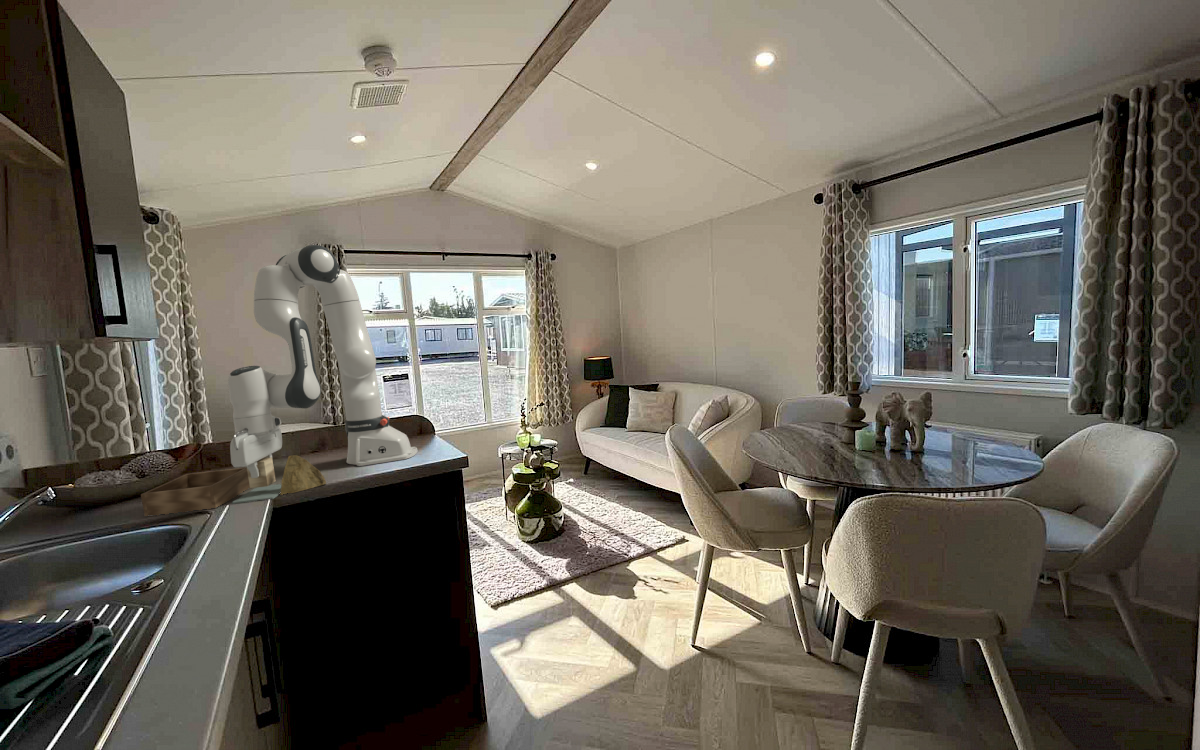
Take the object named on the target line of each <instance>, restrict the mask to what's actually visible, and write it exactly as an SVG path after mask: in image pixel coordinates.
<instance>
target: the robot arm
mask: <svg viewBox="0 0 1200 750" xmlns="http://www.w3.org/2000/svg"><path fill="white" fill-rule="evenodd" d="M310 286H312V287H314V289H316V290H317V292H318V294H319V297H320V300H321V306H322V308H323V309H322V310H323V313H324V316H325V319H326V323H327V327H328V330H329V334H330V339H331V342H332V345H333V349H334V354H335V357H336V360H337V364H338V368H339V369H338V370H339V375H340V382H341V390H342V391H341V392H342V398H343V405H344V413H345V421H344V424H345V425H344V427H345V433H346V437H347V455H346V457H347V458H346V463H347V464H349V465H356V466H357V467H363V466H368V465H369V466H370V465H375V464H376V465H377V464H382V463H387V462H388V463H389V462H394V461H396V462H397V461H402V460H406V459H410V458H412V457H414V456H415V455H416V454H417V453H418V451H419V450H418V448H417V446H411V443H410V439H409V437H408V435H407V434H405V433H404V432H402V431H400V430H399V429H396V428H394V427H393V426H392V425H390V416H385V415H383V411H382V406H381V397H380V396H381V395H380V389H379V384H378V378H377V372H376V365H377V358H376V355H375V351H374V348H373V344H372V341H371V337H370V334H369V331H368V328H367V323H366V320H365V316H364V313H363V309H362V306H361V301H360V298H359V294H358V292H357V289H356V286H355V284H354V282H353V280H352V277H351V275H350V274H349V272H347V271H345V270H343V269H341V267H340V264H339V263H338V260H337V258H336V257H335V255H334V254H333V252H332V251H330V249H329V248H327V247H325V246H323V245H319V244H310V245H306V246H304V247H300V248H297V249H294V250H292V251H291V252H289V253H287V254H286V255H284V256H281V258H279V259H278V260H277V261H276V263H275V264H272V265H266V266H263V267H261V268H260V269H259V270H258V272H257V275H256V279H255V284H254V293H253V314H254V319H255V322H256V323H257V324H258V325H259V326H260V328H262V329H264V330H265V331H267V332H268V333H271V334H273V335H277V336H279V337H281V338H282V339H284V340H285V342H286V343H287V346H288V350H289V357H290V362H291V364H290V365H291V367H292V368H291V370H292V371H291V373H290V374H276V373H272V372H268V371H266V370H265V369H263V368H262V367H261V366H259V365H251V366H250V365H248V366H243V367H240V368H237V369H235V370H232V371H231V372H230V373H229V376H228V379H227V380H228V381H227V384H228V385H227V387H228V396H229V402H230V404H231V407H232V410H233V413H232V420H233V422H232V423H233V427H234V435H233V437H232V439H231V441H230V446H229V448H230V449H229V450H230V451H229V452H230V463H231V466H233V468H234V469H237V468H246V467H247V469H248V470H249V471H250V473H251V478H257V477H259V476H260V475H261V473H260V470H258V468H257V466H256V465H257V461H258V460H260V459H262V458H270V457H272V458H273V454H274V453H276V452H277V451H280V450H281V449H282V447H283V437H282V436H283V435H282V428H281V427H280V426H281V425H282V420H281V417H278V416H275V415H273V414H272V409H290V408H291V409H294V408H295V409H309V408H311V407H312V406H314V405H315V404H316V403H317V401H319V398H320V396H321V393H322V386H321V383H320V379H319V378H318V374H317V370H316V363H315V358H314V351H313V346H312V345H313V344H312V339H311V334H310V331H309V327H308V325H307V323H306V321H305V320H304V319H302V317H301V315H300V311H299V309H300V308H299V291H300V289H301V288H304V287H310Z"/></svg>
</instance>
